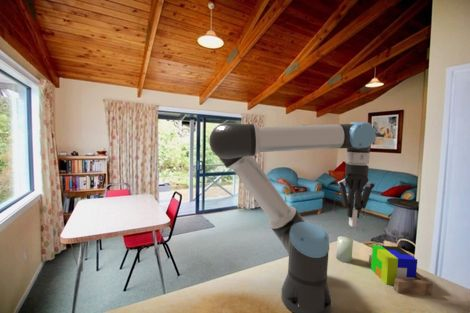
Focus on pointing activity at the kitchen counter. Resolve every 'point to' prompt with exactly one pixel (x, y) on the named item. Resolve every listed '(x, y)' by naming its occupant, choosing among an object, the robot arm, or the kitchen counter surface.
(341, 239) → the cream egg shape
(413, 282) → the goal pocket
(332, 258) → the kitchen counter surface
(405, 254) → the puzzle toy
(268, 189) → the robot arm
